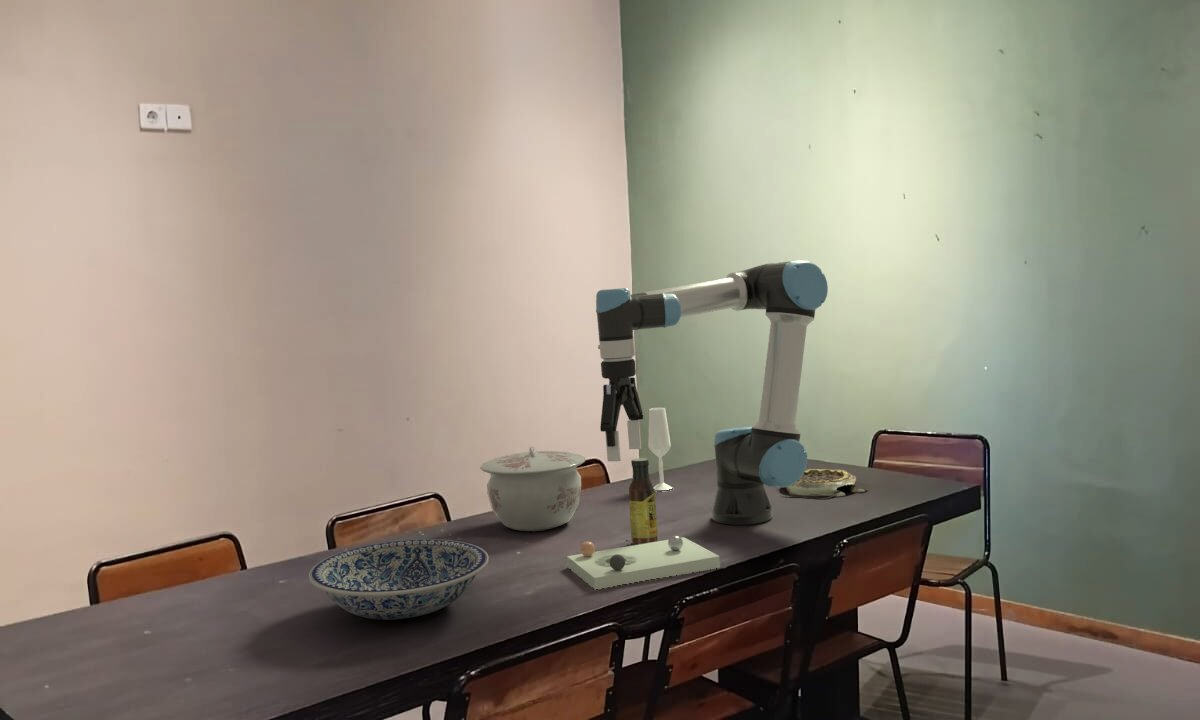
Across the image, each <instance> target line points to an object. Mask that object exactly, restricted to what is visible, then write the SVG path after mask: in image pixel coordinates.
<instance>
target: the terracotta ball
mask: <svg viewBox="0 0 1200 720" xmlns="http://www.w3.org/2000/svg"><path fill="white" fill-rule="evenodd" d="M594 552H596V547H595V544H594V543H593V542H591V541H587V540H586V541H584V542H582V544H581V545H580V554H583V555H584V556H591V555H593V553H594Z"/></svg>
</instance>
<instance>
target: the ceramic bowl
mask: <svg viewBox="0 0 1200 720" xmlns="http://www.w3.org/2000/svg"><path fill="white" fill-rule="evenodd" d="M488 564H489V555H488V553H487V552H486V550H484V549H483V548H482V547H479V546H478V545H474V544H471V543H468V542H464V541H459V540H453V539H452V540H451V539H436V538H435V539H433V538H422V539H421V538H419V539H403V540H402V539H401V540H392V541H385V542H384V541H383V542H379V543H378V542H377V543H372V544H367V545H363V546H359V547H354V548H351V549H348V550H347V549H346V550H345V551H342V552H341V551H340V552H338V553H335V554H333V555H330V556H328V557H326V558H324V559H322V560H321V561H319V562H317V563H316V564H315V565H314V566H313V567H311V569H310V570H309V574H308V580H309V582H310V583H311V585H313V586H314V587H315V588H317V589H319V590H322V591H324V592H325V594H326V595H327V596H328V597H329V598H330V600H331V601H333V602H334V603H335V604H336V605H337V606H338V607H340V608H341V609H343V610H345V611H346V612H349V613H350V614H352V615H353V614H354V615H355V616H358V617H362V618H367V619H372V620H373V619H374V620H386V621H387V620H389V621H390V620H403V619H404V620H405V619H410V618H416V617H420V616H426V615H428V614H431V613H435V612H437V611H439V610H442V609H444V608H446V607H447V606H448V605H451V604H452V603H454V602H455V601H456V600H457V599H458V598H460V597H461V595H464V593H465V592H466V591H467V590H468V588H469V587H470V585H472V583H473V581H474V579H475V576H476V575H478V574H479V573H481V572H482V571H483V570H484V569H485V568H487V566H488Z"/></svg>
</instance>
